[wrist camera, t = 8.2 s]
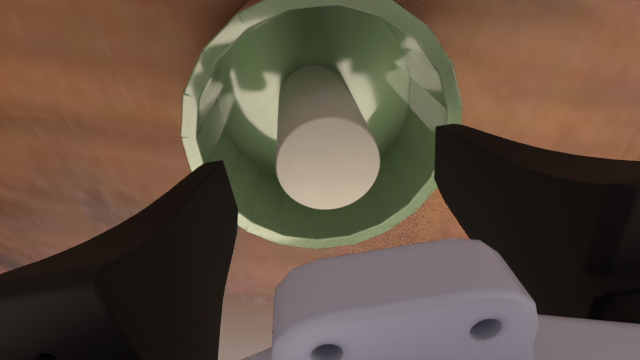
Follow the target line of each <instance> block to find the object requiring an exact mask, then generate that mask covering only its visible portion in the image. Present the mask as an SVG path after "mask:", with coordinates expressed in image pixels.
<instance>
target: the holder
mask: <svg viewBox="0 0 640 360" xmlns="http://www.w3.org/2000/svg"><path fill="white" fill-rule="evenodd" d="M311 65H319V66H325V67H328V68H330V69H332V70H334V71H336V72H337V73H338V74H339V75H340V76H341V77H342V78H343V79H344V81H345V82H346V84H347V86H348V88H349V90H350V92H351V94H352V96H353V98H354V100H355V102H356V104H357V106H358V108H359V110H360V111H361V113H362V115H363V117H364V119H365V121H366V123H367V125H368V127H369V129H370V131H371V133H372V135H373V137H374V139H375V141H376V143H377V145H378V148H379V153H380V168H379V172H378V175H377V177H376V180H375V182H374V183H373V185H372V186H371V188H370V189H369V190H368V191H367V192H366V193H365V194H364V195H363V196H362V197H361V198H360V199H358V200H356V201H355V202H353V203H351V204H349V205H346V206H344V207H340V208H336V209H325V210H324V209H315V208H310V207H307V206H304V205H302V204H300V203H298V202H297V201H295V200H294V199H292V198H291V197H290V196H289V195H288V194H287V193H286V192H285V191H284V189H283V188H282V186H281V184H280V183H279V180H278V178H277V174H276V145H277V125H278V104H279V94H280V90H281V87H282V85H283V83H284V82H285V80H286V79H287V78H288V77H289V76H290V75H291V74H292V73H293V72H295V71H296V70H298V69H300V68H302V67H306V66H311ZM461 114H462V102H461V97H460V93H459V88H458V84H457V79H456V75H455V70H454V66H453V63H452V61H451V60H450V58H449V57H448V55H447V54H446V52H445V51H444V49H443V48H442V46H441V45H440V43H439V42H438V40H437V38H436V37H435V35H434V34H433V32H432V31H431V29H430V28H429V27H428V26H427V25H426V24H425V23H424V22H422V21H421V20H419V19H418V18H417V17H415V16H414V15H412V14H411V13H410V12H408V11H407V10H406V9H404V8H403V7H401V6H400V5H399V4H397V3H396V2H394V1H393V0H250V1H248V2H247V3H246V4H245V5H244V6H243V7H242V8H241V9H240V10H239V11H238V12H237V13H236V14H235V15H234V16H233V17H232V18H231V19H230V20H229V21H228V22H227V23H226V24H225V25H224V26H223V28H222V29H221V30H220V31H219V32H218V33H217V34H216V35H215V36H214V37H213V38H212V39H211V40H210V41H209V42H208V43H207V44H206V45H205V46H204V47H203V49H202V51H201V52H200V54H199V56H198V59H197V61H196V63H195V66H194V68H193V70H192V73H191V75H190V77H189V80H188V82H187V84H186V87H185V89H184V93H183V96H182V115H181V140H182V144H183V147H184V150H185V153H186V157H187V160H188V163H189V167H190V170H191V172H193V171H194V170H195V169H196V168H198V167H199V166H201V165H202V164H204V163H207V162H213V161H220V160H223V162H224V165H225V168H226V171H227V175H228V178H229V181H230V184H231V188H232V191H233V194H234V198H235V201H236V204H237V207H238V224H237V225H238V226H239V227H241V228H242V229H243V230H245V231H246V232H249V233H251V234H254V235H256V236H259V237H261V238H264V239H266V240H269V241H271V242H274V243H276V244H280V245H287V246H295V247H303V248H311V249H315V248H316V249H320V248H328V247H337V246H345V245H351V244H352V245H353V244H356V243H358V242H361V241H364V240H366V239H369V238H372V237H374V236H377V235H380V234H382V233H385V232H386V231H388V230H390V229H391V228H392V227H394V226H395V225H397V224H398V223H400V222H401V221H403V220H404V219H406V218H407V217H408V216H410V215H411V214H413V213H414V212H416V210H418V209H419V208H420V207H421V205H422V204H423V203H424V202H425V201H426V200H427V198H428V197H429V196H430V195H431V194H432V192H433V191H434V190H435V189H436V188H437V187H438V186H437V184H436V182H435V180H434V166H435V127H436V126H441V125H448V124H459V125H460V122H461Z"/></svg>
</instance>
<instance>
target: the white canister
mask: <svg viewBox="0 0 640 360" xmlns="http://www.w3.org/2000/svg"><path fill="white" fill-rule="evenodd" d="M379 168H380V153H379V148H378V145H377V143H376V141H375V139H374V137H373V135H372V133H371V131H370V129H369V127H368V125H367V123H366V121H365V119H364V117H363V115H362V113H361V111H360V110H359V108H358V106H357V104H356V102H355V100H354V98H353V96H352V94H351V92H350V90H349V88H348V86H347V84H346V82H345V81H344V79H343V78H342V77H341V76H340V75H339V74H338V73H337V72H336V71H334V70H332V69H330V68H328V67H325V66H319V65H311V66H306V67H302V68H300V69H298V70H296V71H295V72H293V73H292V74H291V75H290V76H289V77H288V78H287V79H286V80H285V82H284V83H283V85H282V87H281V90H280V94H279V104H278V125H277V145H276V174H277V178H278V180H279V183H280V184H281V186H282V188H283V189H284V191H285V192H286V193H287V194H288V195H289V196H290V197H291V198H292V199H294V200H295V201H297V202H298V203H300V204H302V205H304V206H307V207H310V208H315V209H324V210H325V209H336V208H340V207H344V206H346V205H349V204H351V203H353V202H355V201H356V200H358V199H360V198H361V197H362V196H363V195H364V194H365V193H366V192H367V191H368V190H369V189H370V188H371V186H372V185H373V183H374V182H375V180H376V177H377V175H378V172H379Z"/></svg>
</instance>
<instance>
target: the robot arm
mask: <svg viewBox="0 0 640 360" xmlns="http://www.w3.org/2000/svg"><path fill="white" fill-rule="evenodd" d="M434 180H435V182H436V184H437V186H438V189H439V191H440V193H441V195H442V197H443V199H444V201H445V203H446V204H447V206H448V207H449V209H450V210H451V212H452V213H453V215H454V216H455V218H456V219H457V221H458V222H459V224H460V225H461V227H462V228H463V229H464V231H465V232H466V234H467V235H468V237H469V238H470V239H452V238H450V239H444V240H437V241H431V242H424V243H418V244H412V245H405V246H399V247H392V248H386V249H380V250H373V251H367V252H361V253H354V254H348V255H341V256H335V257H329V258H322V259H319V260H316V261H313V262H311V263H308V264H305V265H303V266H300V267H297V268H294V269H292V270H291V271H290V272H289V273H288V275H287V276H286V277H285V278H284V279H283V280H282V281H281V282H280V283H279V284H278V285H277V286H276V288H275V296H274V307H273V331H272V347H271V348H269V349H266V350H264V351H262V352H259V353H256V354H254V355H252V356H249V357H247V358H244V359H242V360H640V161H627V160H614V159H604V158H596V157H587V156H580V155H573V154H567V153H562V152H556V151H551V150H546V149H542V148H537V147H533V146H530V145H526V144H522V143H518V142H515V141H511V140H508V139H505V138H502V137H498V136H495V135H492V134H489V133H486V132H483V131H480V130H477V129H474V128H471V127H467V126H464V125H459V124H448V125H441V126H436V127H435V166H434ZM237 224H238V207H237V204H236V201H235V198H234V194H233V191H232V188H231V184H230V181H229V178H228V175H227V171H226V168H225V165H224V162H223V160H220V161H213V162H207V163H204V164H202V165H201V166H199V167H198V168H196V169H195V170H194V171H193V172H191V173H190V174H189V175H188V176H186V177H185V178H184V179H183V180H182V181H180V182H179V183H178V184H177V185H175V186H174V187H173V188H172V189H171V190H169V191H168V192H167V193H165V194H164V195H163V196H161V197H160V198H159V199H157V200H156V201H155V202H153V203H152V204H150V205H149V206H148V207H146V208H145V209H143V210H142V211H140V212H139V213H137V214H136V215H134V216H132V217H131V218H129V219H127V220H126V221H124V222H122V223H121V224H119V225H117V226H115V227H113V228H111V229H109V230H107V231H106V232H104V233H102V234H100V235H98V236H96V237H94V238H92V239H90V240H88V241H86V242H84V243H81V244H79V245H77V246H75V247H72V248H70V249H68V250H65V251H63V252H60V253H58V254H55V255H53V256H50V257H48V258H45V259H43V260H40V261H37V262H34V263H31V264H28V265H25V266H23V267H20V268H17V269H14V270H11V271H8V272H5V273H2V274H0V360H218V349H219V335H220V323H221V314H222V303H223V296H224V290H225V285H226V280H227V276H228V272H229V267H230V263H231V258H232V254H233V249H234V245H235V240H236V235H237Z"/></svg>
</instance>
